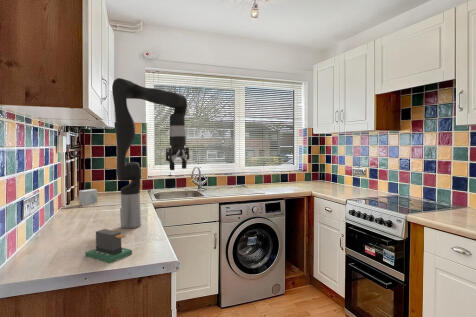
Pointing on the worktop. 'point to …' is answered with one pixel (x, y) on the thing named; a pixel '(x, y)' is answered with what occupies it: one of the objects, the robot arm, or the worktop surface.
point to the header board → (108, 254)
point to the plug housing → (108, 239)
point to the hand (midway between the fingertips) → (178, 169)
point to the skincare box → (88, 197)
